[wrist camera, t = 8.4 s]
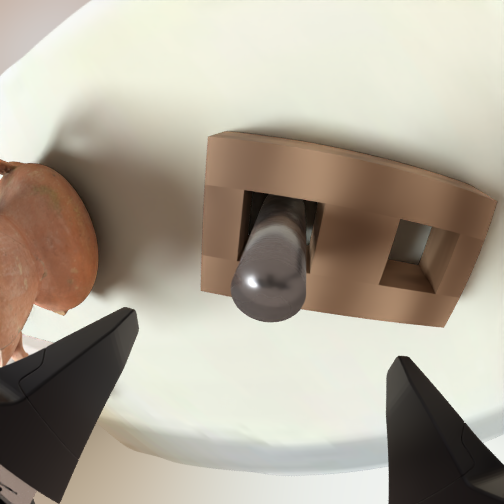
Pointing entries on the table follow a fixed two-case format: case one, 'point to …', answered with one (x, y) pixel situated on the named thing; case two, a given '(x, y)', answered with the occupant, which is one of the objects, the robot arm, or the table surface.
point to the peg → (273, 262)
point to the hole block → (347, 225)
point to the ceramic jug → (40, 249)
